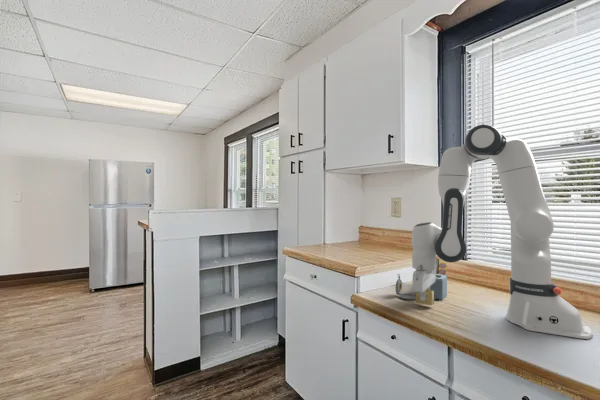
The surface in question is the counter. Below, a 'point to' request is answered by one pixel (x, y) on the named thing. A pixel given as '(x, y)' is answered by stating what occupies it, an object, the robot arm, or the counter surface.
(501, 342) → the counter surface
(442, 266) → the candy box
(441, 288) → the blue grey rectangular container
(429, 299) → the tan wooden block
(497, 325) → the counter surface
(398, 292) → the pocket watch
